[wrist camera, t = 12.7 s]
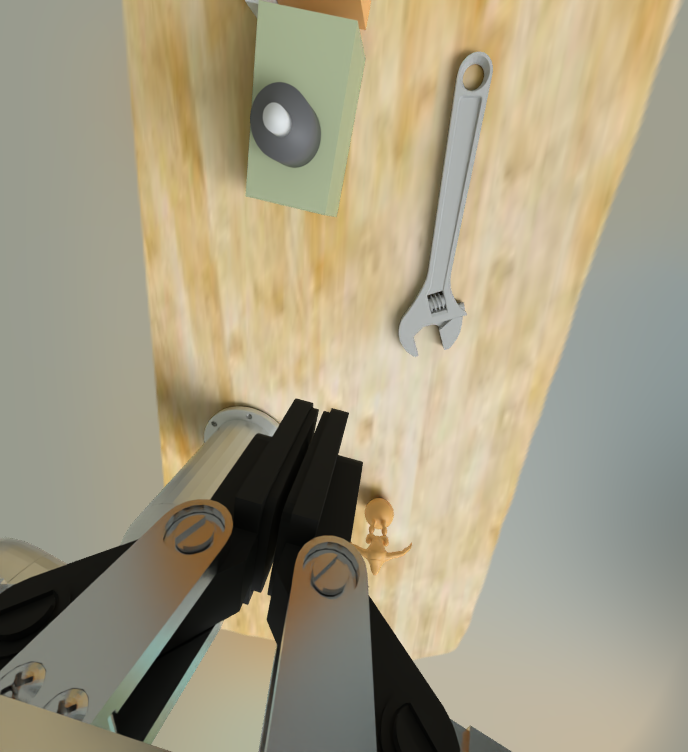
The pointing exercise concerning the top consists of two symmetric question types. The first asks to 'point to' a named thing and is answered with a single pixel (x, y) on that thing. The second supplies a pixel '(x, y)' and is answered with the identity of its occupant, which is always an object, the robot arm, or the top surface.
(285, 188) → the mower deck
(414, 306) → the adjustable wrench
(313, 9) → the stepped orange block
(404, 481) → the top surface
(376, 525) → the figurine
